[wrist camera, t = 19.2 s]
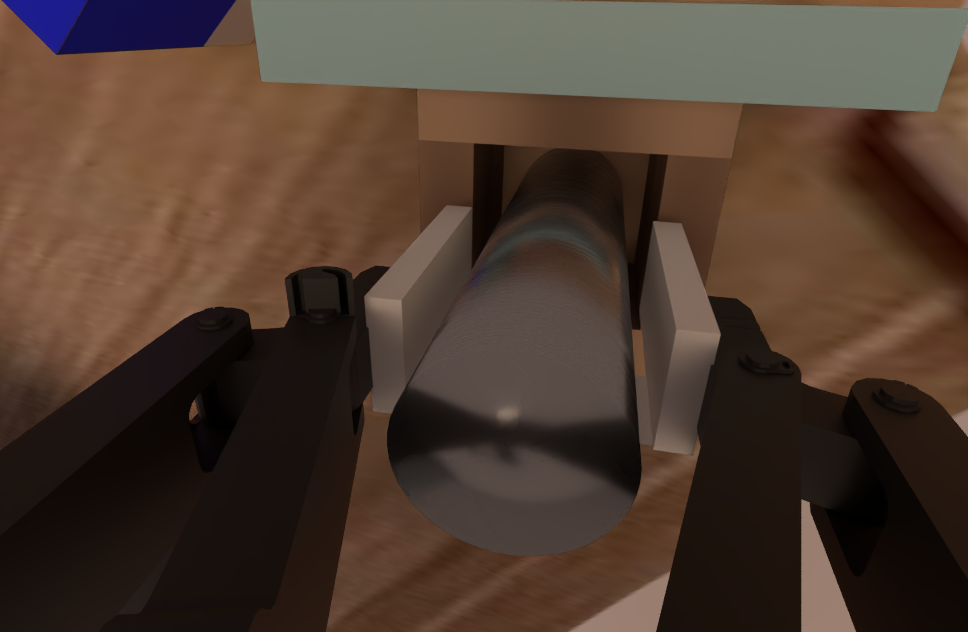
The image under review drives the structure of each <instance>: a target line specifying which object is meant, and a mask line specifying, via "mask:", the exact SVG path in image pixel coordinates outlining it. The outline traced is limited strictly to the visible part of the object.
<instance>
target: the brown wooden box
mask: <svg viewBox="0 0 968 632" xmlns="http://www.w3.org/2000/svg"><path fill="white" fill-rule="evenodd" d="M417 104H418V142H419V179H420V217H421V233H422V232H423V231H424V230H425V229H426V228H427V227H428V225H429V224H430V223H431V222H432V221H433V220H434V219H435V218H436V217H437V215H438V214H439V213H440V212H441V211H442V210H443V209H444V208H445V207H446V206H447V205H451V206H464V207H472V249H471V270H472V268H473V267H474V265H475V263H476V261H477V259H478V258H479V256H480V254H481V252H482V251H483V249H484V247H485V245H486V244H487V242H488V240H489V238H490V236H491V235H492V233H493V231H494V229H495V228H496V226H497V224H498V222H499V220H500V219H501V217H502V215H503V213H504V212H505V210H506V208H507V206H508V205H509V203H510V201H511V199H512V197H513V196H514V194H515V192H516V190H517V189H518V187H519V185H520V183H521V182H522V180H523V178H524V176H525V174H526V173H527V171H528V169H529V168H530V166H531V165H532V164H533V163H534V162H535V161H536V160H537V159H538V158H539V157H540V156H542V155H543V154H545V153H547V152H548V151H550V150H553V149H555V148H563V149H580V150H594V151H596V152H597V153H599V154H601V155H602V156H603V157H605V158H606V159H607V160H608V161H609V162H610V163H611V164H612V166H613V167H614V168H615V170H616V172H617V174H618V176H619V179H620V182H621V186H622V196H623V211H624V225H625V239H626V253H627V268H628V282H629V296H630V310H631V325H632V339H633V353H634V367H635V375H639V376H646V371H645V361H644V351H643V341H642V331H641V321H640V311H639V309H640V302H641V296H642V289H643V283H644V277H645V270H646V264H647V258H648V251H649V245H650V239H651V232H652V226H653V221H658V222H671V223H682V226H683V229H684V232H685V234H686V237H687V240H688V243H689V246H690V249H691V251H692V254H693V257H694V260H695V263H696V266H697V268H698V271H699V274H700V277H701V280H702V282H703V285H704V288H705V284H706V279H707V274H708V270H709V265H710V260H711V255H712V250H713V246H714V241H715V236H716V231H717V226H718V222H719V217H720V212H721V207H722V203H723V198H724V193H725V188H726V183H727V179H728V174H729V169H730V164H731V159H732V155H733V150H734V145H735V140H736V136H737V131H738V126H739V121H740V116H741V112H742V107H743V103H729V102H706V101H684V100H662V99H640V98H618V97H595V96H573V95H551V94H529V93H507V92H485V91H462V90H440V89H418V88H417Z"/></svg>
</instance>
